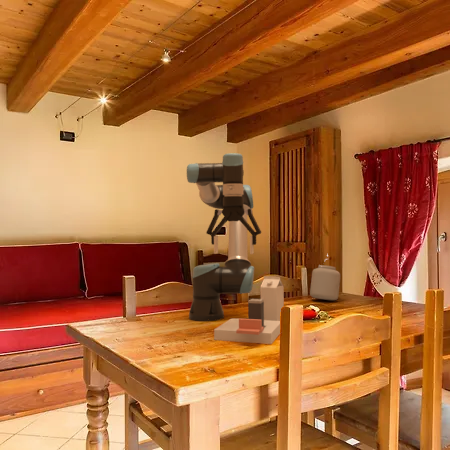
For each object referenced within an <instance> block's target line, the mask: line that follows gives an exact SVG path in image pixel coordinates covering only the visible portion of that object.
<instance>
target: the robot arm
mask: <svg viewBox="0 0 450 450" xmlns="http://www.w3.org/2000/svg"><path fill="white" fill-rule="evenodd" d="M186 180H187V182H188V183H190V184H196V186H197V188H198V192H199V193H198V194H199V195H198V196H199V198H200V200H201V201H202V202H203V204H205V205H207V206H208V207H211V208H213V209H215V210H214V213H213V214H214V215H213V217H212V219H211V222H210V224H209V226H208V228H207V230H206V232H205V233H206V235H209V236H211V245H213V254H214V255H216V254H219V236H218V235H217V234H218V233H219V231H220V230H222V228H223V227H224V225H225V224H226V223H227V222H228V251H227V252H228V254H227V257H228V258H227V260H226V261H225V262H224V266H221V265H220V263H219V262H218V263H216V262H215V263H207V264H206V263H205V264H201V265H197V266H196V265H195V267H193V269H192V277H191V278H192V301H191V305H190V308H189V311H188V319H189V320H192V321H199V322H200V321H201V322H212V321H219V320H222V319H224V318H225V313H224V309H223V305H222V303H221V300H220V297H221V296H220V295H221V294H240V295H242V294H249V293H251V292H252V290H253V285H254V277H255V267H254V266H253V265H252V263H251V261H250V260H249V259H248V258H249V257H248V232H249V233H250V234H251V235H249V254H250V255H253V254H254V253H255V252H254V251H255V250H254V245H257V236H258V235H260V234H261V233H262V230H261V228H260V226H259V225H258V222H257V221H256V219H255V217H254V214H253V208H254V196H253V191H252V187H251V186H250V185H249V184H244V157H243V155H242V154H241V153H239V152H238V153H237V152H236V153H235V152H234V153H233V152H232V153H231V152H230V153H225V154H223V155H222V162H217V163H216V162H213V163H211V162H210V163H209V162H207V163H205V162H204V163H202V162H201V163H198V162H195V163H189V164H187V167H186ZM216 183H222V184H216ZM221 214H222V215H223V218H222V219H221V221H220V222H218V219H219V218H220V216H221ZM248 218H249V220H250V222H251V224H252V226H253V228H254V229H253V228H252V226H251V225H250V224H249V223H248ZM217 222H218V225H216V224H217ZM215 226H216V227H215Z"/></svg>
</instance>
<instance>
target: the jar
mask: <svg viewBox="0 0 450 450" xmlns="http://www.w3.org/2000/svg"><path fill="white" fill-rule="evenodd" d="M326 256H327V257H329V255H328V254H327V255H326ZM326 260H328V258H325V261H326ZM336 268H337V267H335V266H331V265H322V264H321V265H320V264H319V265H318V267H317V268H314V269H313V270H312V271H311V280H310V281H311V283H310V290H309V291H310V292H309V295H310V296H311V297H312V298H314V299H318V300H324V301H325V300H326V301H336V300H338V299H339V293H340V286H341V285H340V283H341V273H340V272H339V271H338V270H336Z"/></svg>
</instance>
